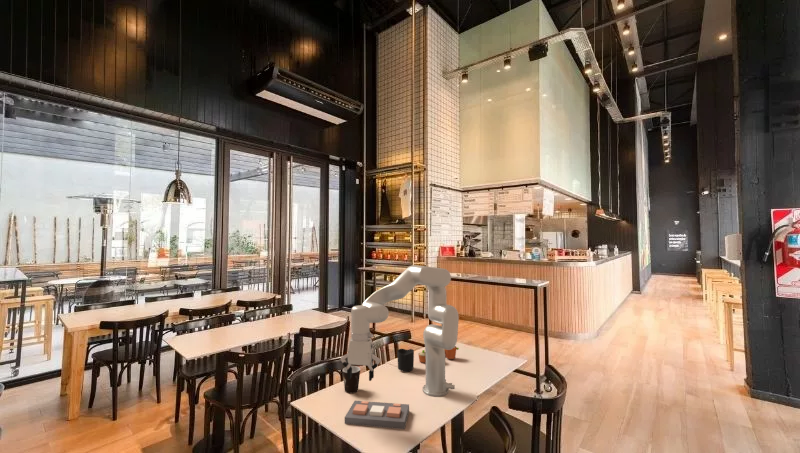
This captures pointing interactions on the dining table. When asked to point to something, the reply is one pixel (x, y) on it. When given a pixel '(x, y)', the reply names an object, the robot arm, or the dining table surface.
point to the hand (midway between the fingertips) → (360, 378)
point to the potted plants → (449, 354)
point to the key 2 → (394, 412)
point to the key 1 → (360, 409)
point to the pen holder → (405, 359)
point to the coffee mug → (351, 380)
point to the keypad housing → (378, 420)
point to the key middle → (377, 411)
